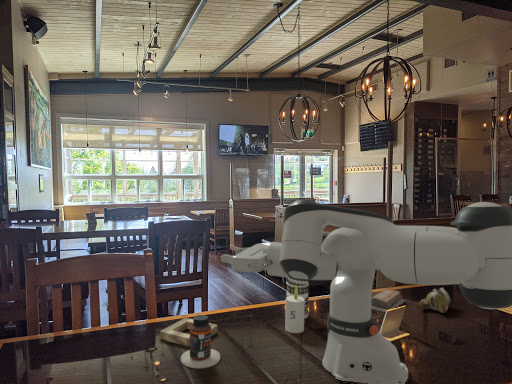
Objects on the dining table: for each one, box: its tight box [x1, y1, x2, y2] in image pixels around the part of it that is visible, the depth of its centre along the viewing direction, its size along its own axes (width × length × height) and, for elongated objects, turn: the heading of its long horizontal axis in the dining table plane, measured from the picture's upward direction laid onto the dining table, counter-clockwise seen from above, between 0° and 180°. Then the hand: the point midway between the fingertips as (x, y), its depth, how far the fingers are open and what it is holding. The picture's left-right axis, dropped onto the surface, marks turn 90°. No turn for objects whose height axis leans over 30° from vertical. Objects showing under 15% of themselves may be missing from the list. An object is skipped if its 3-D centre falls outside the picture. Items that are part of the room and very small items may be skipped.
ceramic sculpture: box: [417, 287, 451, 314], centre depth 154 cm, size 11×9×15 cm
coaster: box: [180, 348, 221, 370], centre depth 110 cm, size 11×11×1 cm
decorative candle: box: [284, 277, 310, 319], centre depth 145 cm, size 9×9×25 cm
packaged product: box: [371, 288, 406, 313], centre depth 158 cm, size 18×5×10 cm
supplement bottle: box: [189, 314, 212, 361], centre depth 110 cm, size 6×6×11 cm
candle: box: [284, 285, 305, 334], centre depth 131 cm, size 6×6×15 cm
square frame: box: [159, 317, 218, 348], centre depth 125 cm, size 13×13×2 cm
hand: (229, 254), depth 108 cm, fingers open, 8 cm apart
